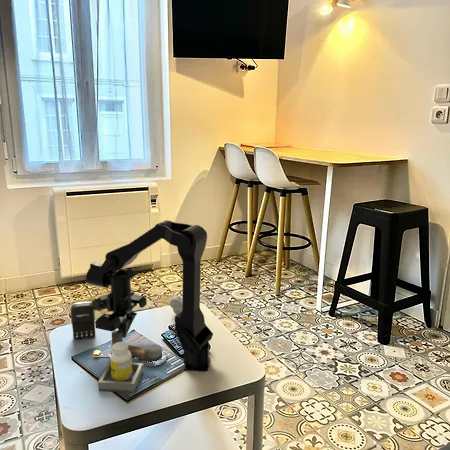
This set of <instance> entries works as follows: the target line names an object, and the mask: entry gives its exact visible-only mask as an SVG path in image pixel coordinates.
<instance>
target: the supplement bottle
mask: <svg viewBox="0 0 450 450" xmlns="http://www.w3.org/2000/svg"><path fill="white" fill-rule="evenodd" d="M128 345H129V344H128V343H127V342H126V341H123V342H117V343H115V344H114V345H113V346H112V345H111V346H112V347H111V349H112V352H111V353H110V354H109V355H110V358H109V359H110V361H109V362H111V377H112V381H124V382H129V381H130V380H131V379H132V376H133V374H132V363H133V361H132V360H133V359H132V356H133V355H132V354H131V352H130V351H129V350H128Z"/></svg>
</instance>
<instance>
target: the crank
mask: <svg viewBox="0 0 450 450" xmlns="http://www.w3.org/2000/svg"><path fill="white" fill-rule="evenodd" d="M117 342H124V340H123V337H122V331H119V330H118V329H116V330H115V331H111V343H112V345H111V346H113V345H114V344H115V343H117ZM128 350H129V351H130V352H131V355H132V356H142V357H145V359H146V360H147V361H157V360H159V359H161V358H162V351H163V347H162V346H161V345H160V344H155V343H154V344H149V345H146V346H145V347H139V346H135V345H133V344H128Z"/></svg>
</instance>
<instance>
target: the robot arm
mask: <svg viewBox="0 0 450 450" xmlns="http://www.w3.org/2000/svg"><path fill="white" fill-rule="evenodd" d="M162 239H163V240H165V242H167V243H168V244H170V245H172V246H174V247H177V248H176V249H177V253H178V255H179V257H180V258H181V260H182V298H183V307H182V311H181V312H180V313H179V314H178V315H176V316H174V329H173V331H174V332H175V333H176V337H177V338H178V340H179V341H180V346H181V348H182V351H183V365H184V370H185V371H197V372H208V371H209V367H210V362H211V357H210V342H211V340H212V338H213V336H214V333H213V332H212V330H211V329H210V328H209V327H208V326H207V324H206V322H205V315H204V313H203V311H202V310H201V262H202V257H203V254H204V252H205V250H206V246H207V240H208V233H207V231H206V230H205V228H204V227H202V226H201V225H198V224H194V225H191V224H188V223H183V222H182V223H181V222H175V221H171V220H168V219H167V220H163V221H160V222H159V223H156V224H155V225H154V227H152V228H150V229H149V230H147V231H146V232H145V233H143V234H142V235H140V236H138V237H137V238H135V239H134V240H133V241H131V242H130V243H127V244H125V245H122V246H120V247H118V248H115V249H113V250H110V251H108V252H107V253H106V254H105V256H104V257H105V259H104V261H103V263H99V262H97V261H94V262H91V263H90V264H89V269H88V270H87V273H86V275H85V279H86V283H87V285H91V286H97V287H100V288H101V287H102V288H109V287H110V293H108V294H105V295H102V296H99V297H98V298H94V299H93V300H91V302H92V307H93V309H94V312H95V311H97V312H101V311H102V310H106V309H107V310H106V311H107V312H110V313H111V312H112V313H111V314H110V313H104V314H102V315H101V316H99V317H98V318H96V319H95V329H98V330H103V331H107V332H113V331H117V330H119V331H122V339H123V338H124V339H125V338H126V337H127V336H128V333H129V330H130V328H131V325H132V324H133V322H134V320H135V318H136V317H137V315H138V313H137V312H134V310H133V309H134V308H135V307H136V306H139V308H141V309H143V308H145V307H146V306H147V305H148V304H147V298H146V297H145V296H144V295H139V294H135V291H134V290H132V286H131V285H132V284H131V282H132V281H131V279H132V278H134V277H136V276H137V274H138V273H137V272H136V271H134V270H133V269H132V268H131V267H130V268H127V269H124V268H125V267H127V266H129V265H131V264H132V263H133V262H134V261H135V260H136V259H137V258H138V256H139V255H140V254H141V253H142V252H143V251H145V250H147V249H148V248H149V247H151V246H153V245H155V244H156V243H157V242H160V240H162Z"/></svg>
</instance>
